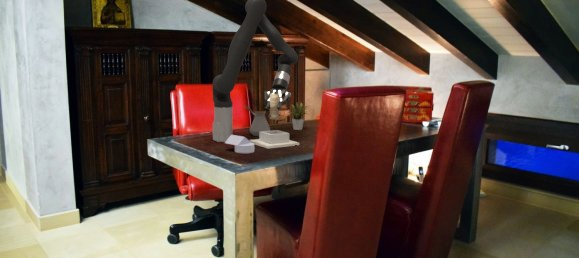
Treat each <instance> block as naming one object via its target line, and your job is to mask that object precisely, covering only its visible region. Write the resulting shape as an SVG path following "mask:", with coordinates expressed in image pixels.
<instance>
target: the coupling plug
mask: <svg viewBox="0 0 579 258" xmlns="http://www.w3.org/2000/svg"><path fill="white" fill-rule="evenodd" d="M269 98H270V110H269V114H268V118H269V120H280V118H281V114H280V110H278V109H277V106H278V103H279V102H280V100H279V94H269Z"/></svg>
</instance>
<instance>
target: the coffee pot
mask: <svg viewBox="0 0 579 258" xmlns="http://www.w3.org/2000/svg"><path fill="white" fill-rule="evenodd" d="M244 108H245V109H247V110H248V111H249V112H250V113H251V114H253V115H254V117H253V121H252V123H251V125H250V128H249V133H250V134H251V135H252V136H254V137H259V132H262V131H271V127H270V125H269V122H268V121H267V118H266V113H267V111H264V110H263V111H262V110H256V111H253V110H252V109H251V108H250V107H249V106H247V105H244Z"/></svg>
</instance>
